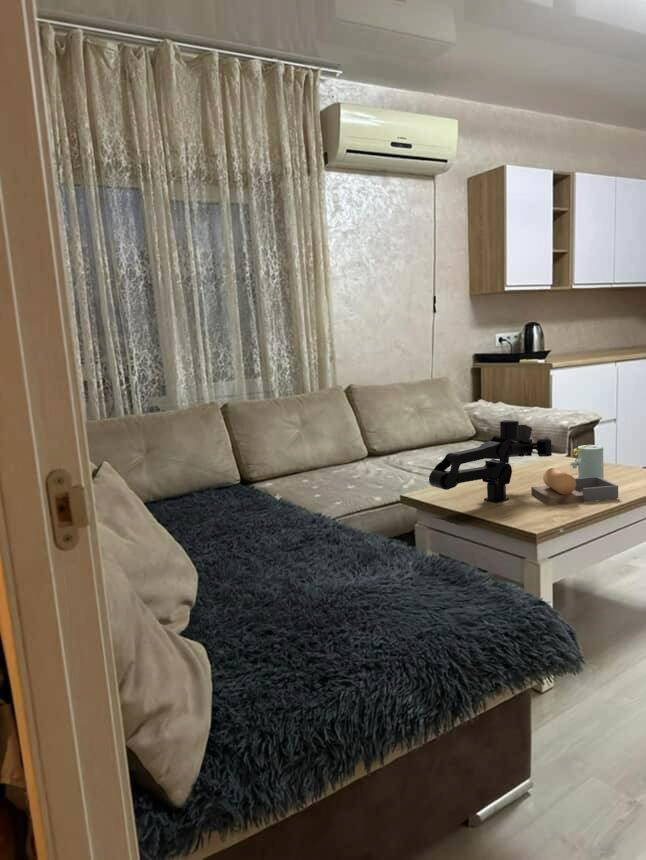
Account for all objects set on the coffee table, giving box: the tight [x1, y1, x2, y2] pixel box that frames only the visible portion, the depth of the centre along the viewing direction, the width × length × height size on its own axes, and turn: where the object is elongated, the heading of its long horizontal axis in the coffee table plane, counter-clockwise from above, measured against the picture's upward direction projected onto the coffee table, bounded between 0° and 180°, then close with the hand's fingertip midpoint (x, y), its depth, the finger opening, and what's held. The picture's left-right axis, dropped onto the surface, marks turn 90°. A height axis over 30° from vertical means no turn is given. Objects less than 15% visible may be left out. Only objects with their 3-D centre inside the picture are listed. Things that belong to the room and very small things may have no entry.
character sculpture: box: [570, 444, 605, 480], centre depth 233 cm, size 20×12×13 cm, turn 137°
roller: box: [542, 467, 576, 495], centre depth 213 cm, size 11×7×7 cm, turn 2°
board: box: [530, 485, 585, 506], centre depth 214 cm, size 12×16×2 cm
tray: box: [574, 477, 619, 503], centre depth 214 cm, size 12×15×4 cm
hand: (543, 446), depth 228 cm, fingers open, 9 cm apart
